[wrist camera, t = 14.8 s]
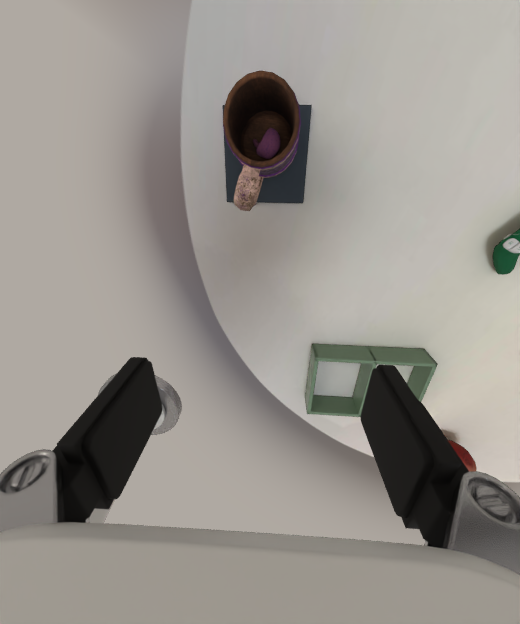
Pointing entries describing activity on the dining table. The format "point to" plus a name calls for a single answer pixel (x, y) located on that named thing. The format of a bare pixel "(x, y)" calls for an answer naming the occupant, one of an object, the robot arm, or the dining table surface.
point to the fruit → (464, 456)
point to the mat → (284, 184)
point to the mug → (260, 131)
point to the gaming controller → (507, 253)
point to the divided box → (364, 374)
